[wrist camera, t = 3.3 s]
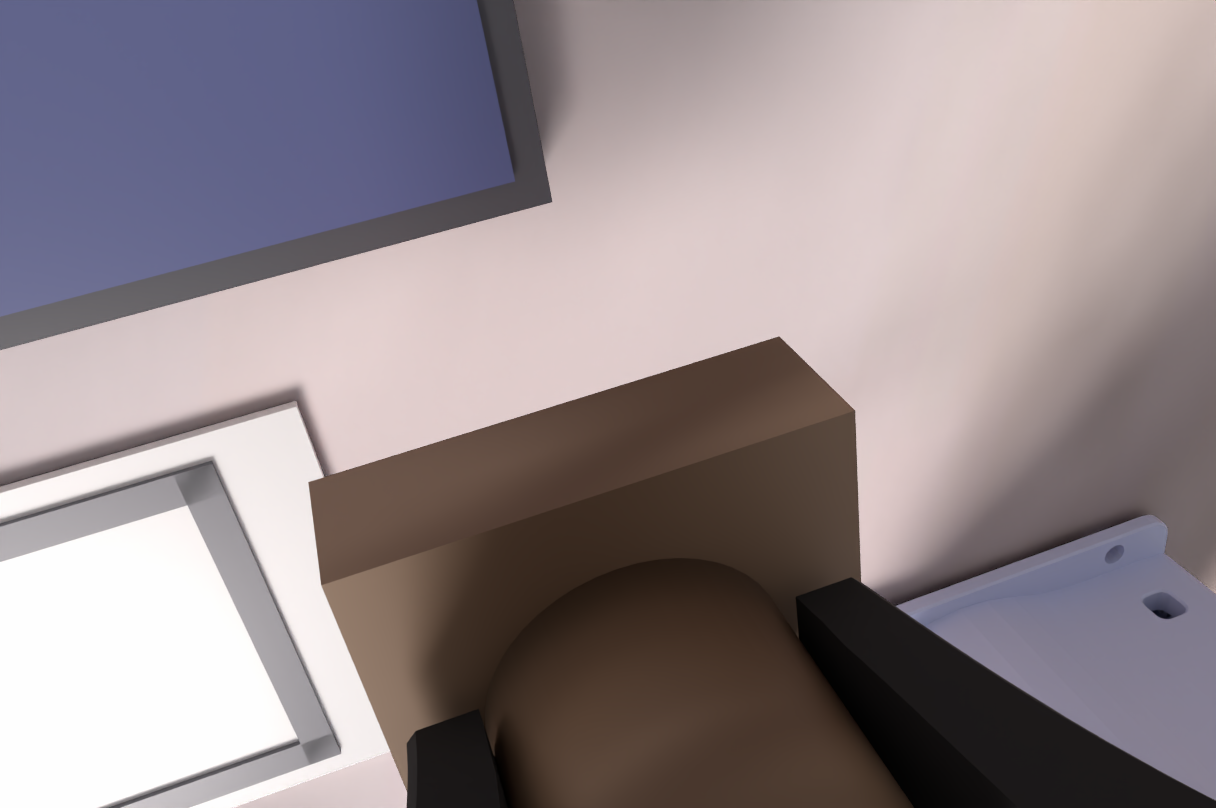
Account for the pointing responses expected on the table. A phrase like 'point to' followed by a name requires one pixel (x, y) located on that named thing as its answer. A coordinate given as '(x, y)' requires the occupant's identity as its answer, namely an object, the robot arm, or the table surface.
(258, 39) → the ink pad
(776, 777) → the stamp
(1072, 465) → the table surface
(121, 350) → the table surface
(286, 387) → the table surface
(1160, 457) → the table surface
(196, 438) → the paper
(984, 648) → the robot arm
